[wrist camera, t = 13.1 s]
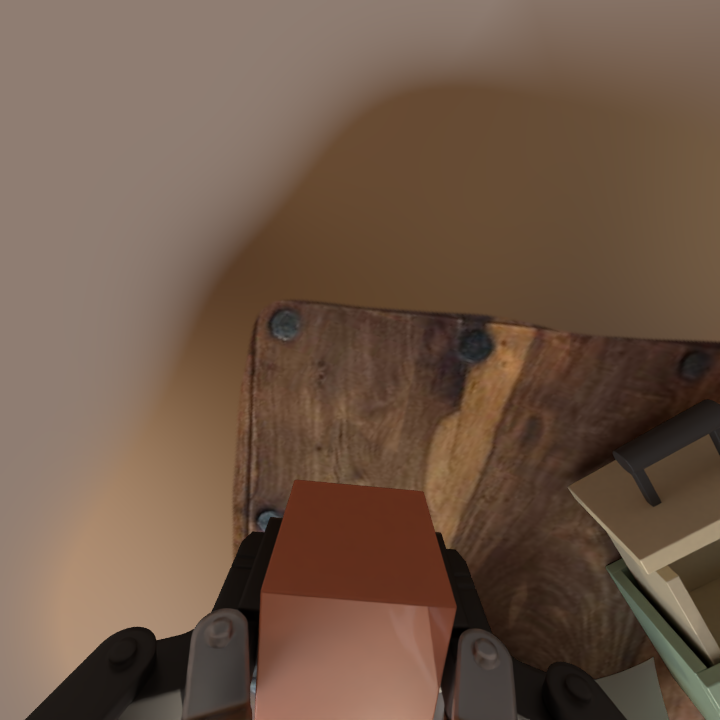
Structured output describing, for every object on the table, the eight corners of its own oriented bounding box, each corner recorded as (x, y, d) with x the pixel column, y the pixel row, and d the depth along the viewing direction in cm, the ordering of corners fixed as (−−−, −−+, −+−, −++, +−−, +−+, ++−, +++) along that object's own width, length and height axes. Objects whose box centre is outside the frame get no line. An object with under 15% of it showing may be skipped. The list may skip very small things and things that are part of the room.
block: (294, 478, 12) (260, 590, 8) (423, 490, 13) (458, 607, 8) (287, 585, 14) (253, 734, 9) (406, 595, 14) (428, 747, 9)
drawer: (540, 441, 27) (605, 503, 19) (686, 357, 25) (816, 389, 18) (640, 606, 30) (727, 710, 23) (774, 540, 29) (912, 628, 21)
